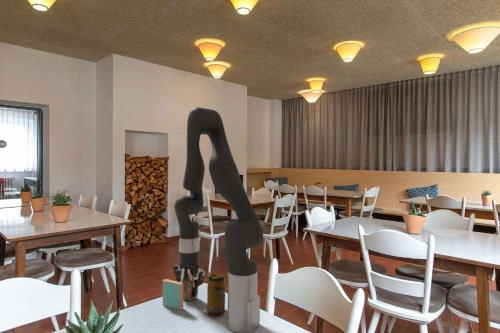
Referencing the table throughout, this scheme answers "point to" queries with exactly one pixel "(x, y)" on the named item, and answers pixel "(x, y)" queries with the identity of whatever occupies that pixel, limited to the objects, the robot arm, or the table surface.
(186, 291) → the block
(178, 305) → the tile
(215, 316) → the condiment
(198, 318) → the table surface
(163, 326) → the table surface
